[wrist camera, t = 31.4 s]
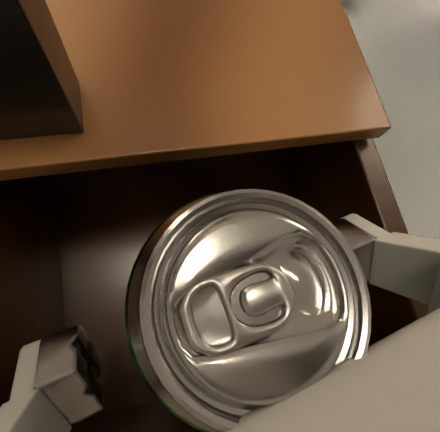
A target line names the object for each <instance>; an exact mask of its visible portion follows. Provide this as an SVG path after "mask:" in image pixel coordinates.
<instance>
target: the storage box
mask: <svg viewBox="0 0 440 432" xmlns="http://www.w3.org/2000/svg"><path fill="white" fill-rule="evenodd" d="M241 189H260V190H269V191H274V192H278V193H282V194H285V195H288V196H290V197H293V198H295V199H298V200H300V201H302V202H304V203H305V204H307V205H309V206H310V207H312V208H314V209H315V210H317V211H318V212H319V213H320V214H322V215H323V216H324V217H326V218H327V219H328V220H329V221H330V222H333V221H336V220H338V219H340V218H342V217H345V216H347V215H349V214H352V213H353V214H357V215H359V216H361V217H362V218H364V219H366V220H368V221H370V222H371V223H373V224H375V225H377V226H378V227H380V228H382V229H384V230H385V231H387V232H389V233H392V232H398V233H404V234H408V232H407V229H406V226H405V224H404V221H403V218H402V216H401V213H400V210H399V208H398V205H397V202H396V200H395V197H394V194H393V192H392V189H391V186H390V184H389V181H388V178H387V176H386V173H385V170H384V168H383V165H382V162H381V160H380V157H379V154H378V152H377V149H376V146H375V144H374V141H373V138H370V139H361V140H353V141H344V142H335V143H326V144H318V145H309V146H300V147H291V148H283V149H274V150H265V151H256V152H248V153H239V154H230V155H221V156H213V157H204V158H195V159H186V160H178V161H169V162H160V163H151V164H143V165H134V166H125V167H116V168H107V169H99V170H90V171H81V172H72V173H64V174H55V175H46V176H37V177H29V178H20V179H11V180H2V181H0V407H1V406H2V404H4V403H6V402H8V401H9V400H10V395H11V390H12V386H13V381H14V376H15V371H16V367H17V362H18V357H19V352H20V350H21V349H22V347H23V346H24V345H27V344H30V343H32V342H35V341H38V340H40V339H42V338H44V337H47V336H50V335H52V334H55V333H58V332H60V331H63V330H66V329H68V328H71V327H73V326H76V325H81V326H82V327H83V329H84V330H85V332H86V341H89V342H92V343H93V345H94V347H95V349H96V351H97V353H98V357H99V361H100V367H101V374H100V376H99V378H98V382H99V383H100V385H101V386H102V397H103V409H102V410H100V411H98V412H96V413H94V414H92V415H90V416H89V417H87V418H85V419H83V420H81V421H79V422H77V423H75V424H73V425H71V426H72V428H71V431H70V432H203V431H201V430H198V429H195V428H193V427H192V426H190V425H188V424H187V423H185V422H184V421H182V420H180V419H179V418H177V417H176V416H175V415H173V414H172V413H171V412H170V411H169V410H168V409H167V408H166V407H164V406H163V405H162V404H161V403H160V402H159V401H158V399H157V398H156V397H155V396H154V394H153V393H152V392H151V391H150V389H149V388H148V387H147V385H146V384H145V382H144V380H143V378H142V376H141V375H140V373H139V371H138V369H137V367H136V365H135V362H134V359H133V356H132V353H131V351H130V348H129V344H128V338H127V333H126V327H125V299H126V292H127V284H128V281H129V278H130V274H131V271H132V267H133V265H134V263H135V260H136V258H137V256H138V254H139V252H140V250H141V248H142V246H143V245H144V243H145V242H146V241H147V239H148V238H149V236H150V235H151V233H152V232H153V231H154V230H155V229H156V228H157V227H158V226H159V225H160V223H161V222H162V221H163V220H164V219H166V218H167V217H168V216H169V215H171V214H172V213H173V212H174V211H176V210H177V209H178V208H180V207H182V206H184V205H186V204H187V203H189V202H191V201H193V200H195V199H198V198H201V197H204V196H206V195H209V194H214V193H219V192H224V191H233V190H241ZM367 287H368V291H369V295H370V305H371V334H370V340H369V345H368V347H369V346H370V345H372V344H374V343H376V342H378V341H380V340H381V339H383V338H385V337H387V336H389V335H391V334H392V333H394V332H396V331H398V330H400V329H402V328H403V327H405V326H407V325H409V324H411V323H413V322H414V321H416V320H418V319H420V318H422V317H424V316H425V315H427V312H428V308H429V305H427V304H424V303H421V302H418V301H416V300H413V299H410V298H408V297H405V296H402V295H399V294H397V293H394V292H391V291H389V290H386V289H383V288H380V287H378V286H375V285H372V284H370V283H367Z"/></svg>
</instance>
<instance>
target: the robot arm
mask: <svg viewBox="0 0 440 432" xmlns="http://www.w3.org/2000/svg"><path fill="white" fill-rule="evenodd" d="M331 223H332V224H333V225H334V226H335V227H336V228H337V229H338V230H339V231H340V232H341V234H342V235H343V237H344V238H345V239H346V241H347V242H348V243H349V245H350V246H351V248H352V250H353V252H354V253H355V255H356V257H357V259H358V261H359V263H360V266H361V268H362V271H363V273H364V276H365V279H366V283H370V284H372V285H375V286H378V287H380V288H383V289H386V290H389V291H391V292H394V293H397V294H399V295H402V296H405V297H408V298H410V299H413V300H416V301H418V302H421V303H424V304H427V305H429V308H428V312H427V315H425V316H424V317H422V318H420V319H418V320H416V321H414V322H413V323H411V324H409V325H407V326H405V327H403V328H402V329H400V330H398V331H396V332H394V333H392V334H391V335H389V336H387V337H385V338H383V339H381V340H380V341H378V342H376V343H374V344H372V345H370V346H369V347H368V351H367V353H366V354H365V355H364V356H363V357H362V358H358V359H355V360H354V359H345V360H343V361H341V362H340V363H338V364H336V365H334V366H333V367H332V369H331V370H330V371H329V372H328V373H327V375H326V376H325V377H324V378H322V379H321V380H320V381H318V382H317V383H315V384H313V385H312V386H310V387H308V388H306V389H304V390H303V391H301V392H299V393H297V394H295V395H294V396H292V397H290V398H288V399H286V400H284V401H282V402H279V403H276V404H274V405H261V406H259V407H257V408H255V409H253V410H252V411H250V412H248V413H246V414H244V415H242V416H241V418H240V419H239V424H238V425H237V426H235V427H234V428H233V429H231V430H228V431H225V432H440V239H436V238H429V237H423V236H417V235H411V234H404V233H398V232H392V233H389V232H387V231H385V230H384V229H382V228H380V227H378V226H377V225H375V224H373V223H371V222H370V221H368V220H366V219H364V218H362V217H361V216H359V215H357V214H353V213H352V214H349V215H347V216H345V217H342V218H340V219H338V220H336V221H333V222H331ZM100 374H101V367H100V361H99V357H98V353H97V351H96V349H95V347H94V345H93V343H92V342H89V341H86V332H85V330H84V329H83V327H82V326H81V325H76V326H73V327H71V328H68V329H66V330H63V331H60V332H58V333H55V334H52V335H50V336H47V337H44V338H42V339H40V340H38V341H35V342H32V343H30V344H27V345H24V346H23V347H22V349H21V350H20V352H19V357H18V362H17V367H16V371H15V376H14V381H13V386H12V390H11V395H10V400H9V401H8V402H6V403H4V404H2V406H1V407H0V432H70V431H71V428H72V426H71V425H73V424H75V423H77V422H79V421H81V420H83V419H85V418H87V417H89V416H90V415H92V414H94V413H96V412H98V411H100V410H102V409H103V397H102V386H101V385H100V383H99V382H98V378H99V376H100ZM213 432H223V431H220V430H215V431H213Z"/></svg>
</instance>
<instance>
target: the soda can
mask: <svg viewBox="0 0 440 432" xmlns="http://www.w3.org/2000/svg"><path fill="white" fill-rule="evenodd" d="M125 327H126V333H127V338H128V344H129V348H130V351H131V353H132V356H133V359H134V362H135V365H136V367H137V369H138V371H139V373H140V375H141V376H142V378H143V380H144V382H145V384H146V385H147V387H148V388H149V389H150V391H151V392H152V393H153V394H154V396H155V397H156V398H157V399H158V401H159V402H160V403H161V404H162V405H163V406H164V407H166V408H167V409H168V410H169V411H170V412H171V413H172V414H173V415H175V416H176V417H177V418H179V419H180V420H182V421H184V422H185V423H187V424H188V425H190V426H192V427H193V428H195V429H198V430H201V431H203V432H213V431H215V430H220V431H223V432H225V431H228V430H231V429H233V428H234V427H235V426H237V425H238V424H239V419H240V418H241V416H242V415H244V414H246V413H248V412H250V411H252V410H253V409H255V408H257V407H259V406H261V405H274V404H276V403H279V402H282V401H284V400H286V399H288V398H290V397H292V396H294V395H295V394H297V393H299V392H301V391H303V390H304V389H306V388H308V387H310V386H312V385H313V384H315V383H317V382H318V381H320V380H321V379H322V378H324V377H325V376H326V375H327V373H328V372H329V371H330V370H331V369H332V367H333V366H334V365H336V364H338V363H340V362H341V361H343V360H345V359H354V360H355V359H358V358H362V357H363V356H364V355H365V354H366V353H367V351H368V345H369V340H370V334H371V305H370V295H369V291H368V287H367V283H366V279H365V276H364V273H363V271H362V268H361V266H360V263H359V261H358V259H357V257H356V255H355V253H354V252H353V250H352V248H351V246H350V245H349V243H348V242H347V241H346V239H345V238H344V237H343V235H342V234H341V232H340V231H339V230H338V229H337V228H336V227H335V226H334V225H333V224H332V223H331V222H330V221H329V220H328V219H327V218H326V217H324V216H323V215H322V214H320V213H319V212H318V211H317V210H315V209H314V208H312V207H310V206H309V205H307V204H305V203H304V202H302V201H300V200H298V199H295V198H293V197H290V196H288V195H285V194H282V193H278V192H274V191H269V190H260V189H241V190H233V191H224V192H219V193H214V194H209V195H206V196H204V197H201V198H198V199H195V200H193V201H191V202H189V203H187V204H186V205H184V206H182V207H180V208H178V209H177V210H176V211H174V212H173V213H172V214H171V215H169V216H168V217H167V218H166V219H164V220H163V221H162V222H161V223H160V225H159V226H158V227H157V228H156V229H155V230H154V231H153V232H152V233H151V235H150V236H149V238H148V239H147V241H146V242H145V243H144V245H143V246H142V248H141V250H140V252H139V254H138V256H137V258H136V260H135V263H134V265H133V267H132V271H131V274H130V278H129V281H128V284H127V292H126V299H125Z"/></svg>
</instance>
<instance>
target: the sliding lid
mask: <svg viewBox="0 0 440 432" xmlns="http://www.w3.org/2000/svg"><path fill="white" fill-rule="evenodd" d="M390 128H391V125H390V123H389V120H388V118H387V115H386V113H385V110H384V108H383V105H382V103H381V100H380V98H379V95H378V92H377V90H376V87H375V85H374V82H373V80H372V77H371V75H370V72H369V70H368V67H367V65H366V62H365V60H364V57H363V55H362V52H361V50H360V47H359V45H358V42H357V40H356V37H355V35H354V32H353V29H352V27H351V24H350V22H349V19H348V17H347V14H346V12H345V9H344V7H343V4H342V2H341V0H0V181H2V180H11V179H20V178H29V177H37V176H46V175H55V174H64V173H72V172H81V171H90V170H99V169H107V168H116V167H125V166H134V165H143V164H151V163H160V162H169V161H178V160H186V159H195V158H204V157H213V156H221V155H230V154H239V153H248V152H256V151H265V150H274V149H283V148H291V147H300V146H309V145H318V144H326V143H335V142H344V141H353V140H361V139H370V138H378V137H380V136H382V135H383V134H384V133H385V132H386V131H388V130H389V129H390Z"/></svg>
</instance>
